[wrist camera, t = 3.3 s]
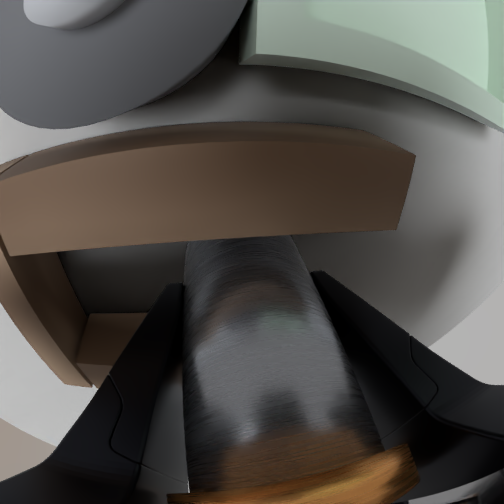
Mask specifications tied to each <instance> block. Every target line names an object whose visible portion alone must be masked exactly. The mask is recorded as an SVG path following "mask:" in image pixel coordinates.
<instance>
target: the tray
mask: <svg viewBox="0 0 504 504" xmlns="http://www.w3.org/2000/svg"><path fill="white" fill-rule="evenodd" d="M239 64H245V65H268V66H282V67H292V68H301V69H309V70H316V71H322V72H328V73H334V74H339V75H345V76H349V77H354V78H359V79H363V80H367V81H371V82H375V83H379V84H382V85H386V86H389V87H393V88H396V89H399V90H403V91H406V92H409V93H412V94H415V95H417V96H420V97H423V98H426V99H428V100H431V101H434V102H436V103H439V104H441V105H443V106H446V107H448V108H451V109H453V110H455V111H457V112H459V113H462V114H464V115H466V116H468V117H470V118H472V119H474V120H476V121H478V122H480V123H482V124H484V125H487V126H489V127H491V128H494V129H496V130H498V131H500V132H502V133H504V0H247V2H246V4H245V6H244V8H243V11H242V13H241V15H240V35H239Z"/></svg>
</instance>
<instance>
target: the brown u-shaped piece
mask: <svg viewBox="0 0 504 504" xmlns="http://www.w3.org/2000/svg"><path fill="white" fill-rule="evenodd" d="M415 158H416V155H414V154H412V153H410V152H408V151H406V150H404V149H402V148H401V147H398V146H396V145H394V144H392V143H390V142H388V141H386V140H384V139H382V138H380V137H377V136H375V135H373V134H371V133H368V132H366V131H364V130H357V129H350V128H342V127H334V126H324V125H313V124H300V123H281V122H214V123H196V124H183V125H171V126H162V127H153V128H146V129H138V130H132V131H125V132H119V133H114V134H108V135H103V136H98V137H93V138H88V139H84V140H80V141H75V142H71V143H67V144H63V145H60V146H56V147H52V148H49V149H45V150H42V151H39V152H35V153H33V154H31V155H29V156H28V155H26V156H23V157H20V158H17V159H14V160H12V161H9V162H6V163H4V164H1V165H0V302H1V304H2V305H3V307H4V309H5V310H6V312H7V313H8V315H9V316H10V318H11V319H12V321H13V322H14V324H15V325H16V326H17V328H18V329H19V331H20V332H21V333H22V335H23V336H24V337H25V339H26V340H27V341H28V343H29V344H30V345H31V346H32V348H33V349H34V350H35V351H36V353H37V354H38V355H39V356H40V357H41V359H42V360H43V361H44V362H45V363H46V364H47V366H48V367H49V368H50V369H51V370H52V371H53V372H54V373H55V374H56V375H57V377H58V378H59V379H60V380H61V381H62V382H63V383H64V384H67V385H74V386H82V387H91V388H92V385H93V384H94V385H95V386H96V388H99V387H100V386H101V384H102V383H103V381H104V379H105V378H106V376H107V375H109V372H110V370H111V368H112V367H113V365H114V364H115V362H116V360H117V359H118V357H119V356H120V354H121V353H122V351H123V349H124V348H125V346H126V345H127V343H128V342H129V340H130V339H131V337H132V336H133V334H134V333H135V331H136V330H137V328H138V327H139V325H140V324H141V322H142V321H143V319H144V318H145V316H146V315H147V313H108V314H90V315H89V318H87V316H86V314H85V312H84V311H83V309H82V307H81V305H80V303H79V301H78V299H77V297H76V295H75V293H74V291H73V289H72V287H71V284H70V282H69V280H68V278H67V276H66V274H65V271H64V269H63V267H62V264H61V262H60V259H59V257H58V255H57V252H59V251H69V250H81V249H92V248H104V247H116V246H129V245H141V244H155V243H168V242H182V241H197V240H212V239H227V238H243V237H260V236H278V235H296V234H316V233H336V232H359V231H383V230H396V229H397V226H398V223H399V220H400V216H401V213H402V209H403V206H404V202H405V199H406V195H407V191H408V188H409V184H410V180H411V176H412V171H413V167H414V163H415ZM109 376H110V375H109Z"/></svg>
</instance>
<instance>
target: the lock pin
mask: <svg viewBox="0 0 504 504" xmlns="http://www.w3.org/2000/svg"><path fill="white" fill-rule="evenodd" d="M182 392H183V418H184V435H185V449H186V461H187V472H188V481H189V490H190V493H171V494H166V495H167V504H391V503H393V502H394V501H396V500H398V499H399V498H401V497H402V496H404V495H405V494H407V493H408V492H409V491H410V490H412V489H413V488H414V487H415V486H416V485H417V484H418V483H419V482H420V480H421V479H420V476H419V473H418V470H417V468H416V465H415V462H414V459H413V457H412V454H411V451H410V449H409V446H408V444H407V443H404V444H401V445H398V446H396V447H394V448H391V449H389V450H386V451H385V449H384V446H383V443H382V441H381V438H380V435H379V433H378V430H377V428H376V425H375V422H374V420H373V417H372V415H371V412H370V410H369V407H368V405H367V402H366V400H365V397H364V395H363V392H362V390H361V387H360V385H359V383H358V380H357V378H356V375H355V373H354V371H353V368H352V366H351V364H350V361H349V359H348V357H347V354H346V352H345V350H344V347H343V345H342V343H341V341H340V338H339V336H338V334H337V332H336V329H335V327H334V325H333V323H332V321H331V318H330V316H329V314H328V312H327V310H326V308H325V305H324V303H323V301H322V299H321V297H320V295H319V293H318V290H317V288H316V286H315V284H314V282H313V280H312V278H311V276H310V274H309V272H308V270H307V268H306V265H305V263H304V261H303V259H302V257H301V255H300V253H299V251H298V249H297V247H296V245H295V243H294V241H293V239H292V237H291V235H278V236H260V237H243V238H227V239H212V240H197V241H188V243H187V247H186V254H185V269H184V291H183V320H182Z"/></svg>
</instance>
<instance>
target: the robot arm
mask: <svg viewBox="0 0 504 504" xmlns="http://www.w3.org/2000/svg"><path fill="white" fill-rule="evenodd" d="M309 274H310V276H311V278H312V280H313V282H314V284H315V286H316V288H317V290H318V293H319V295H320V297H321V299H322V301H323V303H324V305H325V308H326V310H327V312H328V314H329V316H330V318H331V321H332V323H333V325H334V327H335V329H336V332H337V334H338V336H339V338H340V341H341V343H342V345H343V347H344V350H345V352H346V354H347V357H348V359H349V361H350V364H351V366H352V368H353V371H354V373H355V375H356V378H357V380H358V383H359V385H360V387H361V390H362V392H363V395H364V397H365V400H366V402H367V405H368V407H369V410H370V412H371V415H372V417H373V420H374V422H375V425H376V428H377V430H378V433H379V435H380V438H381V441H382V443H383V446H384V449H385V451H386V450H389V449H391V448H394V447H396V446H398V445H401V444H404V443H407V444H408V446H409V449H410V451H411V454H412V457H413V459H414V462H415V465H416V468H417V470H418V473H419V476H420V479H421V480H420V482H419V483H418V484H417V485H416V486H415V487H414V488H413V489H412V490H410V491H409V492H408V493H407V494H405V495H404V496H402V497H401V498H399V499H398V500H396V501H394V502H393V503H391V504H504V385H489V384H485V383H482V382H480V381H478V380H476V379H474V378H473V377H471V376H469V375H468V374H466V373H465V372H463V371H462V370H460V369H458V368H457V367H455V366H454V365H452V364H451V363H449V362H448V361H446V360H445V359H443V358H442V357H440V356H439V355H437V354H436V353H434V352H433V351H431V350H430V349H429V348H427V347H426V346H425V345H423V344H422V343H420V342H419V341H418V340H417V339H415V338H414V337H413V336H410V335H409V333H407V332H406V331H405V330H403V329H402V328H401V327H399V326H398V325H397V324H395V323H394V322H393V321H391V320H390V319H389V318H387V317H386V316H385V315H383V314H382V313H381V312H379V311H378V310H377V309H375V308H374V307H372V306H371V305H370V304H368V303H367V302H366V301H364V300H363V299H362V298H360V297H359V296H357V295H356V294H355V293H353V292H352V291H351V290H349V289H348V288H346V287H345V286H344V285H342V284H341V283H340V282H338V281H337V280H335V279H334V278H333V277H331V276H330V275H328V274H327V273H326V272H324V271H312V272H310V273H309ZM183 291H184V285H183V284H182V283H169V284H168V285H167V286H166V287H165V289H164V290H163V292H162V293H161V295H160V296H159V297H158V299H157V300H156V302H155V303H154V305H153V306H152V308H151V309H150V310H149V312H148V313H147V315H146V316H145V318H144V319H143V321H142V322H141V324H140V325H139V327H138V328H137V330H136V331H135V333H134V334H133V336H132V337H131V339H130V340H129V342H128V343H127V345H126V346H125V348H124V349H123V351H122V353H121V354H120V356H119V357H118V359H117V360H116V362H115V364H114V365H113V367H112V368H111V370H110V372H109V375H110V376H109V375H107V376H106V378H105V379H104V381H103V383H102V384H101V386H100V387H99V389H98V390H97V392H96V394H95V395H94V397H93V398H92V400H91V401H90V403H89V404H88V406H87V407H86V408H85V410H84V411H83V412H82V414H81V415H80V417H79V418H78V419H77V421H76V422H75V423H74V425H73V426H72V427H71V429H70V430H69V431H68V433H67V434H66V435H65V437H64V438H63V439H62V441H61V442H60V444H59V445H58V446H57V448H56V449H55V450H54V451H53V453H52V454H51V455H50V456H49V457H48V458H47V459H46V460H44V461H43V462H42V463H40V464H39V465H37V466H35V467H33V468H30V469H28V470H26V471H24V472H22V473H20V474H17V475H15V476H13V477H11V478H8V479H6V480H3V481H1V482H0V504H167V495H166V494H171V493H188V472H187V461H186V449H185V435H184V418H183V392H182V320H183Z"/></svg>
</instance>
